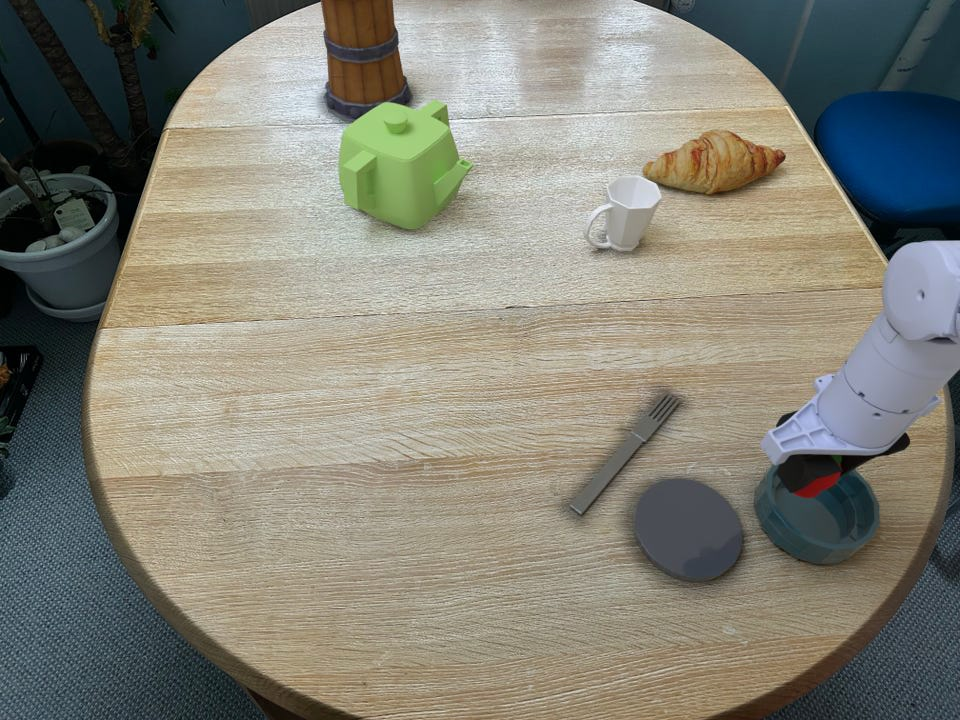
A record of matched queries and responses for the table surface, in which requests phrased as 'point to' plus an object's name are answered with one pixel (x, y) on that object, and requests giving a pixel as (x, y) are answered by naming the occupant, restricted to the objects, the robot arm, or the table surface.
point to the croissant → (714, 163)
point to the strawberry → (820, 483)
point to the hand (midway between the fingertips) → (808, 475)
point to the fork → (624, 453)
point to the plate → (687, 530)
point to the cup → (626, 211)
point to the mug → (362, 57)
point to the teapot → (401, 163)
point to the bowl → (818, 517)
